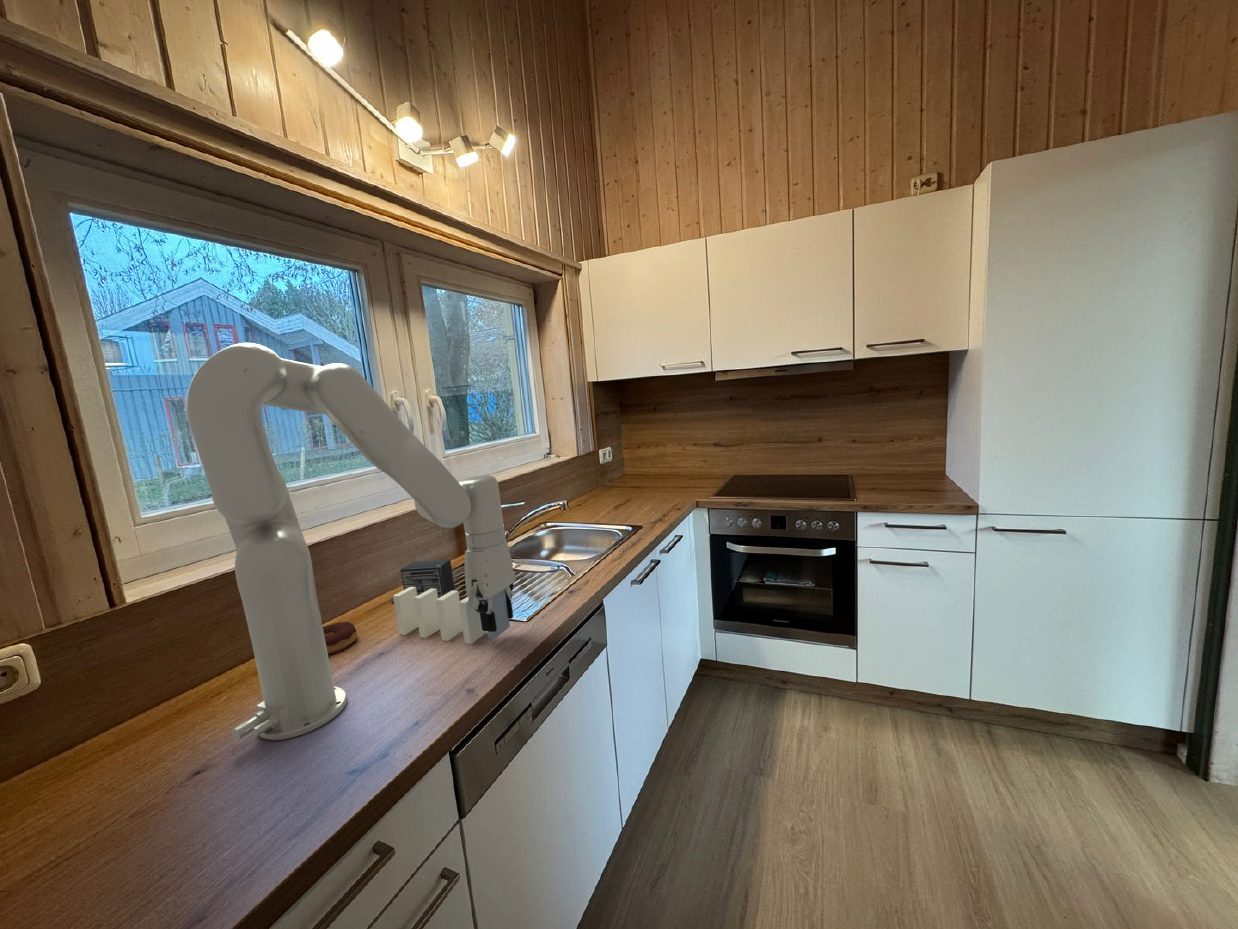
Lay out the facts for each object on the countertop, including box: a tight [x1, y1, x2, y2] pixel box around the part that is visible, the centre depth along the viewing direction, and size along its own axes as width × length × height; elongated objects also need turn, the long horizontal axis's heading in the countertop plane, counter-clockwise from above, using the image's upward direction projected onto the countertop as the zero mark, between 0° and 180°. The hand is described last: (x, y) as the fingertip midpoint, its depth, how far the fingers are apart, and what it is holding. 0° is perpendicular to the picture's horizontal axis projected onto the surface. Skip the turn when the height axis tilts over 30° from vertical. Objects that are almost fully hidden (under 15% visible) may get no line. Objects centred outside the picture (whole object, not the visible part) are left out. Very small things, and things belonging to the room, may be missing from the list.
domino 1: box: [392, 587, 419, 636], centre depth 110 cm, size 2×5×9 cm, turn 158°
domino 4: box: [459, 596, 487, 645], centre depth 103 cm, size 2×5×9 cm, turn 158°
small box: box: [400, 558, 456, 598], centre depth 124 cm, size 11×6×10 cm, turn 84°
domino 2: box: [414, 588, 440, 639], centre depth 108 cm, size 2×5×9 cm, turn 158°
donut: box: [322, 621, 358, 655], centre depth 106 cm, size 10×10×4 cm
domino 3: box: [436, 589, 463, 642], centre depth 105 cm, size 2×5×9 cm, turn 158°
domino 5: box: [483, 590, 511, 639], centre depth 100 cm, size 2×5×9 cm, turn 157°
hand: (498, 623), depth 101 cm, fingers closed on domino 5, 4 cm apart
